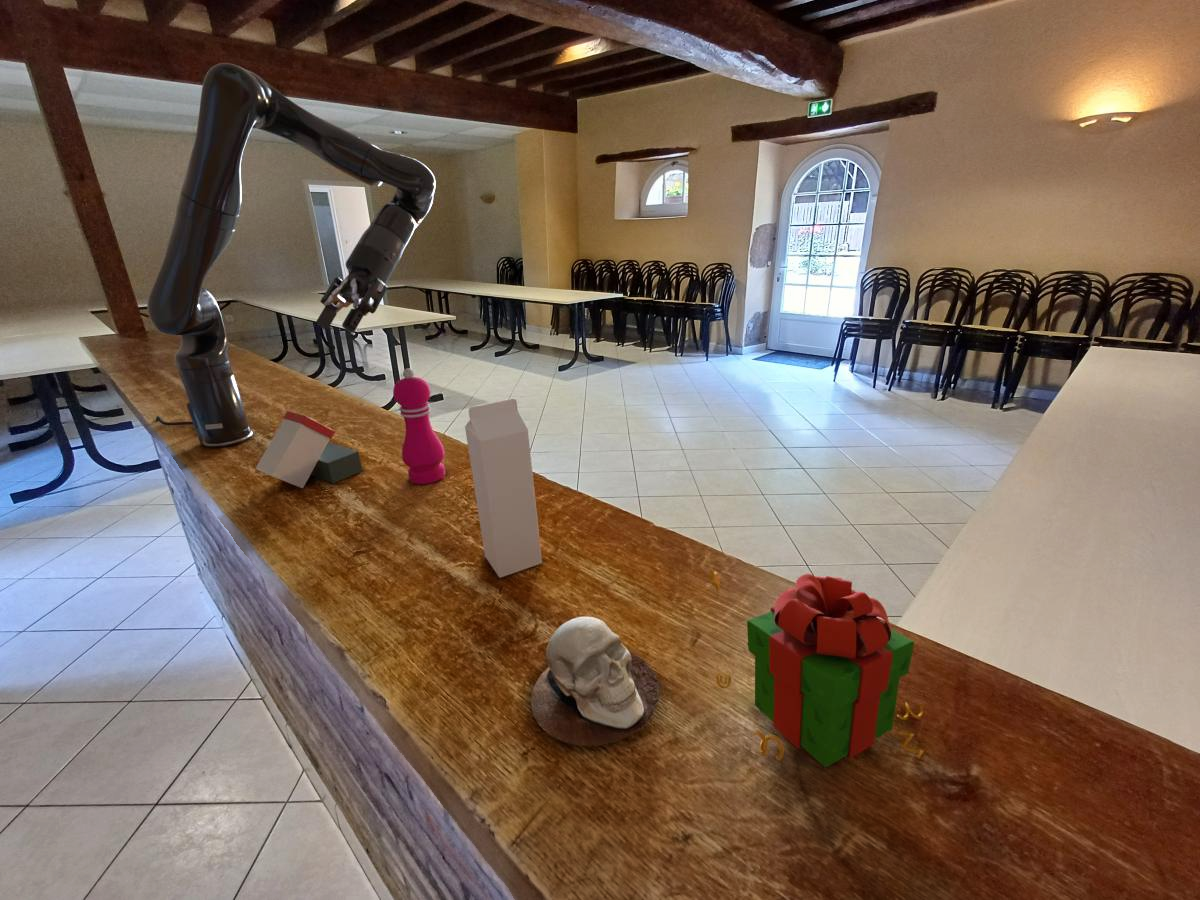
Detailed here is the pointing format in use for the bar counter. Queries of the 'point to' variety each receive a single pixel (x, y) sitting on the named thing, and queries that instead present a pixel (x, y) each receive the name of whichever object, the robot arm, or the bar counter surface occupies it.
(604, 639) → the skull
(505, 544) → the milk
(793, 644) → the gift wrap
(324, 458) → the block
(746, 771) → the bar counter surface
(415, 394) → the pepper mill
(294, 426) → the container
